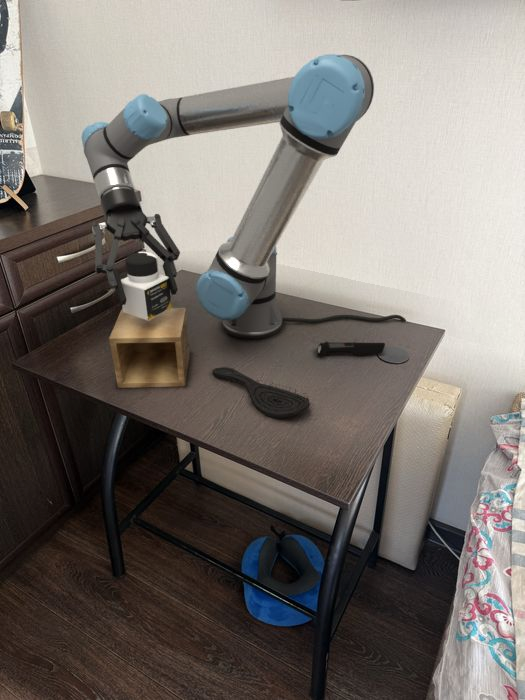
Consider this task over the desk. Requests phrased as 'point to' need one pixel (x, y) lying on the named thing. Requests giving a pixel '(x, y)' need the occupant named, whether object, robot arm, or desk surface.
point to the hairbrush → (267, 395)
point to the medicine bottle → (145, 287)
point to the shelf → (151, 350)
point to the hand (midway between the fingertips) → (149, 297)
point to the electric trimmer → (349, 348)
